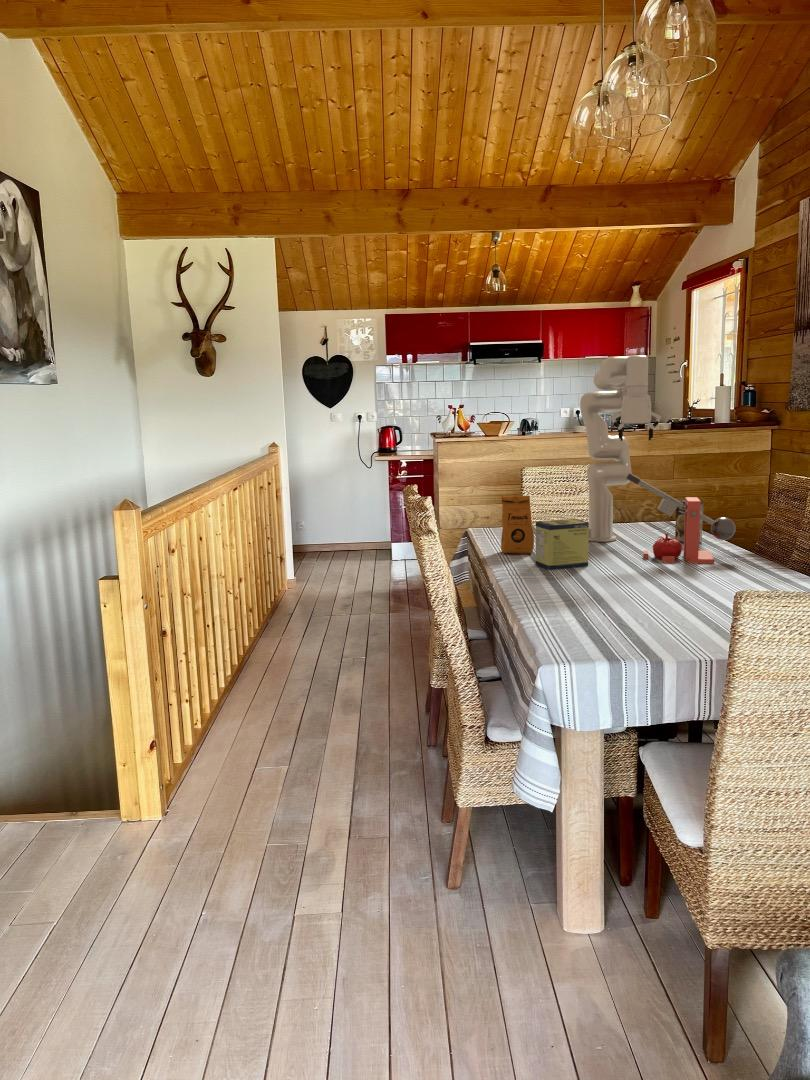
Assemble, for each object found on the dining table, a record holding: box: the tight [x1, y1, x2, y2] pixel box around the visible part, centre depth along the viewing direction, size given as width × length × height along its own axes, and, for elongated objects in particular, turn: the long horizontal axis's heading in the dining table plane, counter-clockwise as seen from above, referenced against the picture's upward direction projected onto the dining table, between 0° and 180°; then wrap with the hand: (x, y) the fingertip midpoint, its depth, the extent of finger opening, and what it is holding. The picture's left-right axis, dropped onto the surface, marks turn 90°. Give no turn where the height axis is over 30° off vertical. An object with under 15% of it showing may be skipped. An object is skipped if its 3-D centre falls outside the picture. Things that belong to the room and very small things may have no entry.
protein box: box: [535, 518, 589, 571], centre depth 274 cm, size 10×16×16 cm
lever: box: [626, 472, 736, 541], centre depth 278 cm, size 42×8×9 cm, turn 75°
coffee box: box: [674, 499, 704, 543], centre depth 312 cm, size 9×6×16 cm
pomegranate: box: [652, 532, 683, 560], centre depth 281 cm, size 10×10×9 cm
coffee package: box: [500, 495, 535, 555], centre depth 298 cm, size 10×12×22 cm
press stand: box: [643, 496, 715, 565], centre depth 279 cm, size 23×16×21 cm
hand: (635, 440), depth 280 cm, fingers open, 9 cm apart
